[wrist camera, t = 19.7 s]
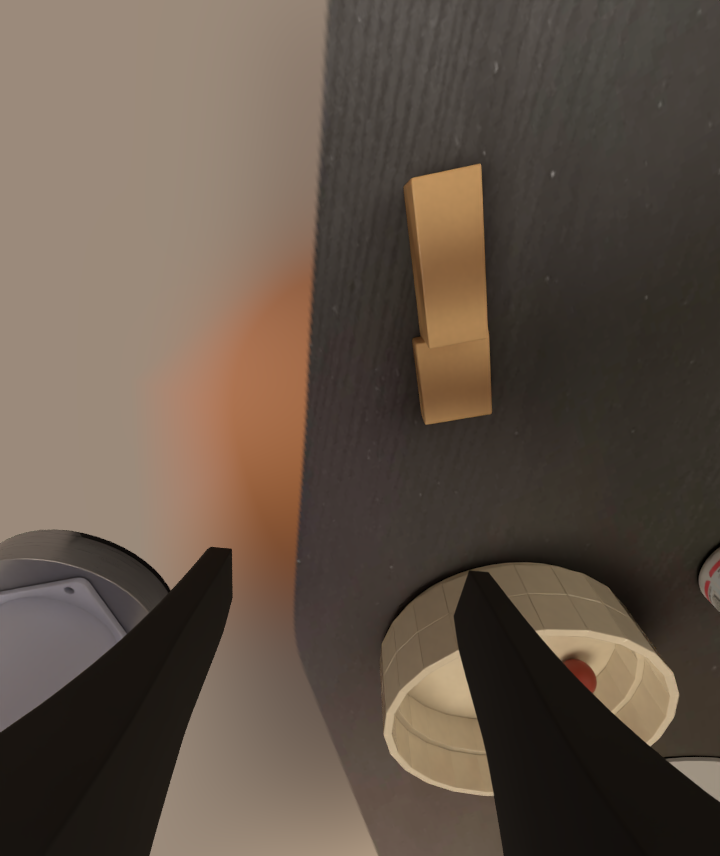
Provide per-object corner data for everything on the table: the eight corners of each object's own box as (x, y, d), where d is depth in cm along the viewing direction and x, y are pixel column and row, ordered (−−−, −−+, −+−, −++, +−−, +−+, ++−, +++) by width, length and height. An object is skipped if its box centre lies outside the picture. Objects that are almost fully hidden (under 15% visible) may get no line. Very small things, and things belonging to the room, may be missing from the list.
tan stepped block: (392, 188, 16) (398, 180, 13) (474, 170, 15) (494, 160, 13) (421, 415, 20) (429, 437, 18) (485, 404, 20) (501, 425, 17)
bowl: (401, 728, 32) (409, 808, 28) (356, 582, 25) (356, 658, 20) (615, 699, 31) (660, 778, 26) (634, 535, 23) (700, 606, 19)
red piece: (605, 682, 27) (600, 707, 25) (572, 679, 28) (565, 703, 27) (590, 651, 27) (584, 675, 25) (558, 651, 28) (550, 673, 27)
